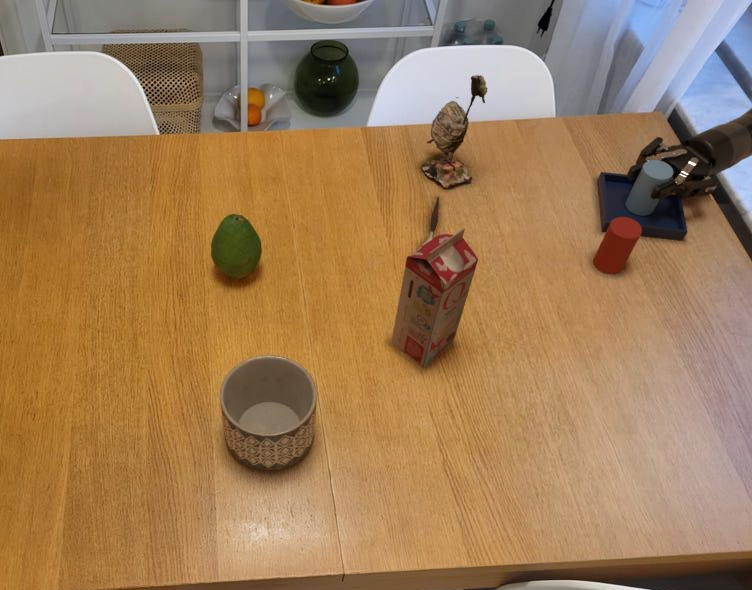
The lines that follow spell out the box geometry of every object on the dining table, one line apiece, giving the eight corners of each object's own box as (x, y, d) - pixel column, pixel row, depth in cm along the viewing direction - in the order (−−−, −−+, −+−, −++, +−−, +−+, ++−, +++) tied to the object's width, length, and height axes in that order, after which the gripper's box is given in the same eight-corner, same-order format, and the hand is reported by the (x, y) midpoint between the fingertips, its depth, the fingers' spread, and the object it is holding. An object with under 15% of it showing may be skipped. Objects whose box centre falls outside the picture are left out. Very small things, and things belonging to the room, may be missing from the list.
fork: (445, 200, 133) (447, 191, 132) (434, 264, 125) (436, 255, 123) (430, 197, 134) (432, 189, 132) (418, 261, 125) (420, 253, 123)
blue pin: (658, 204, 131) (678, 168, 124) (646, 219, 129) (665, 183, 122) (632, 192, 133) (650, 156, 126) (620, 207, 131) (637, 170, 124)
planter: (211, 415, 108) (205, 374, 100) (291, 385, 111) (292, 342, 103) (245, 488, 102) (242, 449, 93) (329, 454, 104) (333, 414, 96)
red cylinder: (622, 254, 125) (640, 218, 119) (624, 275, 122) (643, 240, 116) (592, 251, 126) (609, 215, 119) (593, 272, 123) (611, 236, 116)
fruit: (232, 246, 128) (228, 191, 118) (271, 265, 125) (270, 211, 115) (204, 275, 124) (197, 221, 114) (243, 296, 121) (239, 242, 111)
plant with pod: (453, 147, 142) (475, 47, 125) (475, 186, 135) (501, 87, 119) (412, 153, 141) (429, 54, 124) (432, 193, 134) (453, 94, 118)
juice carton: (452, 344, 115) (483, 240, 97) (423, 368, 113) (449, 266, 94) (420, 319, 118) (444, 214, 100) (391, 342, 115) (410, 238, 97)
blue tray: (673, 188, 134) (678, 179, 132) (682, 240, 127) (687, 232, 125) (597, 180, 136) (600, 171, 134) (601, 231, 128) (605, 222, 127)
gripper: (692, 109, 130) (618, 142, 126) (759, 156, 123) (684, 192, 118) (673, 145, 136) (603, 177, 132) (737, 191, 129) (664, 227, 125)
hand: (641, 184), depth 125 cm, fingers closed on blue pin, 4 cm apart
